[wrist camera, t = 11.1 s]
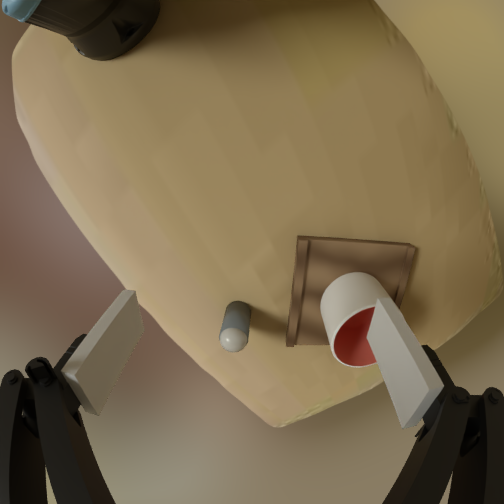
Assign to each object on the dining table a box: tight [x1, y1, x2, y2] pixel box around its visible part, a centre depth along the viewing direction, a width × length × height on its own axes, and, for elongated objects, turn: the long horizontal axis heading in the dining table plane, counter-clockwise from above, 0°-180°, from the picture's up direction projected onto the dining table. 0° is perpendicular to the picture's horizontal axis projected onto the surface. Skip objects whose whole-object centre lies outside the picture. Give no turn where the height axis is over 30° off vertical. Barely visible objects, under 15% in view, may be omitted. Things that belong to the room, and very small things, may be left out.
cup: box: [320, 272, 405, 367], centre depth 35 cm, size 10×10×10 cm
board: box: [286, 236, 415, 347], centre depth 40 cm, size 18×18×2 cm
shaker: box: [219, 301, 251, 352], centre depth 39 cm, size 4×4×9 cm
